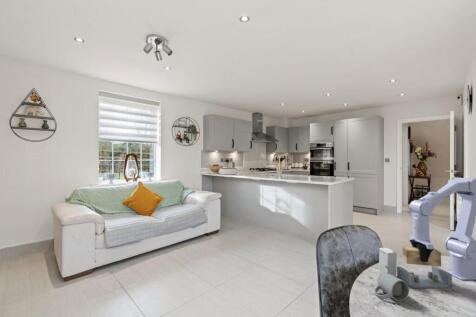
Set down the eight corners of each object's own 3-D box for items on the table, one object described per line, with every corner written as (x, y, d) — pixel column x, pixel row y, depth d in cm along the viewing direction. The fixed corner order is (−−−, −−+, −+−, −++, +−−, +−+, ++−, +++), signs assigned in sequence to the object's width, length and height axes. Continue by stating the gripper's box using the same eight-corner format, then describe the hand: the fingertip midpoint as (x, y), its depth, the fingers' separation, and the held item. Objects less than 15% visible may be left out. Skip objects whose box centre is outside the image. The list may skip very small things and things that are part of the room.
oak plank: (406, 263, 100) (406, 249, 100) (402, 259, 104) (402, 246, 104) (441, 266, 96) (440, 252, 96) (435, 262, 100) (435, 248, 100)
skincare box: (378, 273, 106) (377, 247, 106) (387, 273, 106) (387, 247, 106) (387, 280, 100) (387, 252, 100) (397, 280, 100) (397, 252, 100)
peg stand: (435, 277, 102) (435, 265, 102) (452, 287, 94) (451, 275, 94) (397, 277, 102) (396, 266, 102) (410, 287, 94) (410, 275, 94)
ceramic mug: (391, 288, 94) (390, 269, 94) (410, 300, 86) (409, 279, 86) (369, 292, 92) (368, 273, 92) (385, 304, 84) (384, 283, 84)
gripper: (402, 223, 108) (403, 252, 108) (418, 233, 94) (419, 266, 94) (420, 224, 106) (420, 253, 106) (439, 234, 92) (439, 267, 92)
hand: (421, 259), depth 100 cm, fingers closed on oak plank, 4 cm apart
